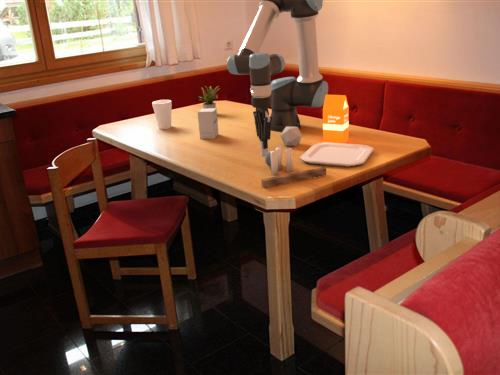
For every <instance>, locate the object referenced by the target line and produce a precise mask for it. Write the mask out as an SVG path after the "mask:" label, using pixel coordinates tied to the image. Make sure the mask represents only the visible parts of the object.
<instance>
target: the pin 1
mask: <svg viewBox="0 0 500 375" xmlns="http://www.w3.org/2000/svg"><path fill="white" fill-rule="evenodd" d="M269 152H270V154H271V167H270V168H271V169H270V171H271V176H277V175H279V170H278V160H277V151H276V150H270V151H269Z"/></svg>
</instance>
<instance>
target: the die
mask: <svg viewBox="0 0 500 375" xmlns="http://www.w3.org/2000/svg"><path fill="white" fill-rule="evenodd" d="M302 138H303V136H302V134H301V131H300V128H298V127H285V129H284V130H283V131H281V134H280V139H281V140H282V143H283V145H284V146H285V147H298V145H299V143H300V142H301V140H302Z"/></svg>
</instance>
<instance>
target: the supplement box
mask: <svg viewBox="0 0 500 375" xmlns="http://www.w3.org/2000/svg"><path fill="white" fill-rule="evenodd" d="M217 111H218V109H217V107H216V108H206V109H204V108H201V109H199V110H198V111H197V121H198V131H199V139H204V140H205V139H206V140H207V139H208V140H209V139H211V140H215V139H216V137H218V135H219V122H218V112H217Z"/></svg>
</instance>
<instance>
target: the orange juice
mask: <svg viewBox="0 0 500 375" xmlns="http://www.w3.org/2000/svg"><path fill="white" fill-rule="evenodd" d="M322 107H323V108H322V143H324V142H329V143H344V144H347V142H348V141H349V129H350V128H349V127H350V126H349V124H350V123H349V122H350V121H349V120H350V119H349V114H350V113H349V112H350V111H349V108H350V107H349V104H348V99H347V96H346V94H345V95H344V94H343V95H342V94H327V95H326V96H325V101H324V105H323V106H322Z"/></svg>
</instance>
